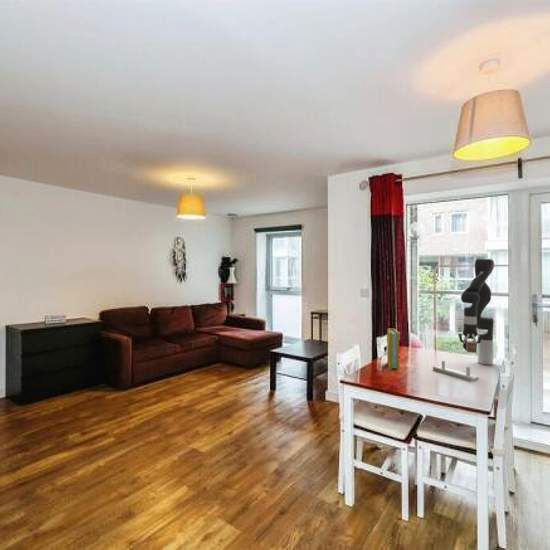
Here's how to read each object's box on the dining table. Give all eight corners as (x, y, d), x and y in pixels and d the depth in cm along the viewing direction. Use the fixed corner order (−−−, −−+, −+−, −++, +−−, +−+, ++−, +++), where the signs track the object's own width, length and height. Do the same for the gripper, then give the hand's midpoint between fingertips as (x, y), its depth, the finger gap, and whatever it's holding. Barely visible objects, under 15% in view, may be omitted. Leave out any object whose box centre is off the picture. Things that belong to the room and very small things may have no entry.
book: (399, 369, 234) (399, 333, 233) (389, 369, 235) (389, 332, 235) (396, 362, 251) (396, 328, 250) (386, 362, 252) (386, 328, 251)
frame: (463, 348, 233) (463, 338, 232) (472, 348, 231) (472, 339, 231) (467, 352, 221) (467, 342, 221) (476, 352, 220) (476, 343, 219)
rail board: (440, 368, 237) (440, 358, 237) (478, 378, 214) (478, 368, 214) (432, 370, 233) (433, 360, 233) (470, 381, 210) (470, 370, 210)
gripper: (459, 323, 224) (458, 349, 225) (484, 324, 220) (484, 351, 220) (456, 321, 231) (456, 347, 232) (481, 322, 227) (480, 348, 227)
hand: (469, 349), depth 226 cm, fingers closed on frame, 5 cm apart
